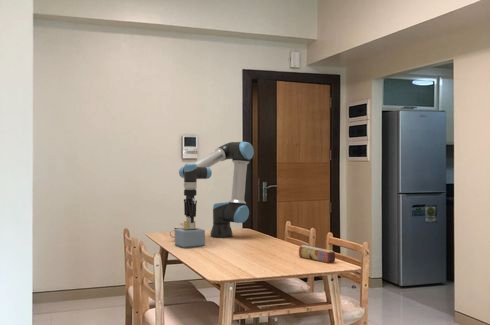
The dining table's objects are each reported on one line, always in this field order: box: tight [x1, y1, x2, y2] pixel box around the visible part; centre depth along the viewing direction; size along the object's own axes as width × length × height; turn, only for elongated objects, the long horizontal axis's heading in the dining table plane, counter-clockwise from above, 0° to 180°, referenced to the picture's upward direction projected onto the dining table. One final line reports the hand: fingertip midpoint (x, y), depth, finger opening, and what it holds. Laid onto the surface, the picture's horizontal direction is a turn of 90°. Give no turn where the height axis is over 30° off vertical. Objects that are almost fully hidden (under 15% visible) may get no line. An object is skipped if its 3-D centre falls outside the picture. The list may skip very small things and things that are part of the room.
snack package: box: [298, 244, 336, 264], centre depth 270 cm, size 21×7×7 cm, turn 40°
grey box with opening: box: [174, 227, 206, 249], centre depth 310 cm, size 14×12×10 cm
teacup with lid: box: [169, 222, 184, 239], centre depth 328 cm, size 12×9×12 cm
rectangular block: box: [183, 220, 196, 229], centre depth 310 cm, size 6×4×4 cm, turn 122°
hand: (190, 227), depth 310 cm, fingers closed on rectangular block, 3 cm apart
